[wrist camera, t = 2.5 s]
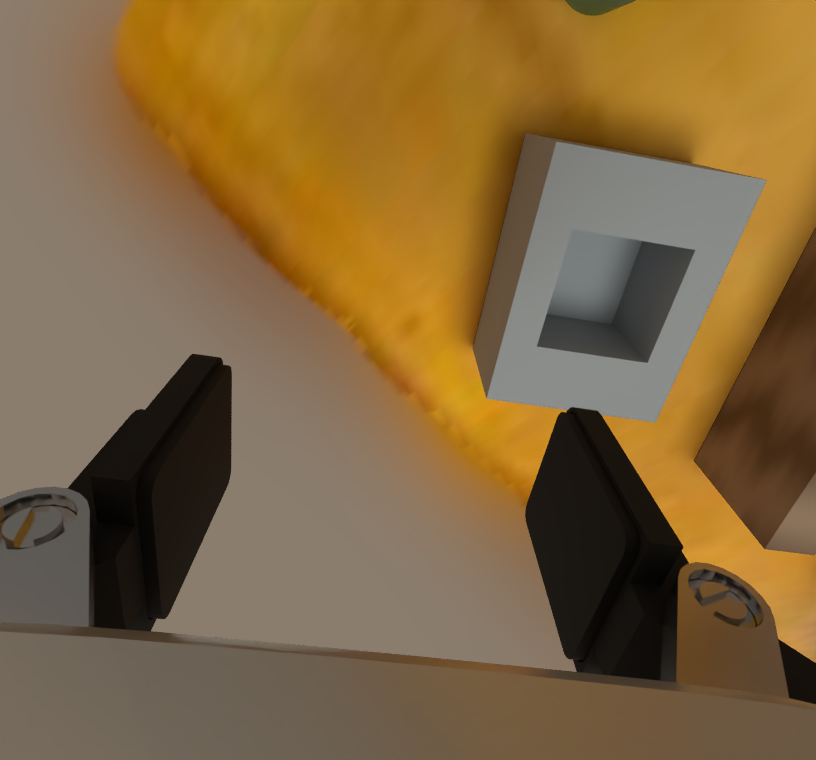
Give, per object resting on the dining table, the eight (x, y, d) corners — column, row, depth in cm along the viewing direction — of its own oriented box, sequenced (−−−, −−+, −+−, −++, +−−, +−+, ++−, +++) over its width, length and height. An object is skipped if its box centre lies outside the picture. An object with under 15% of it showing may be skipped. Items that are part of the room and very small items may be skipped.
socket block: (525, 133, 26) (556, 141, 21) (695, 164, 27) (766, 179, 22) (472, 348, 32) (486, 398, 26) (614, 369, 32) (655, 422, 27)
